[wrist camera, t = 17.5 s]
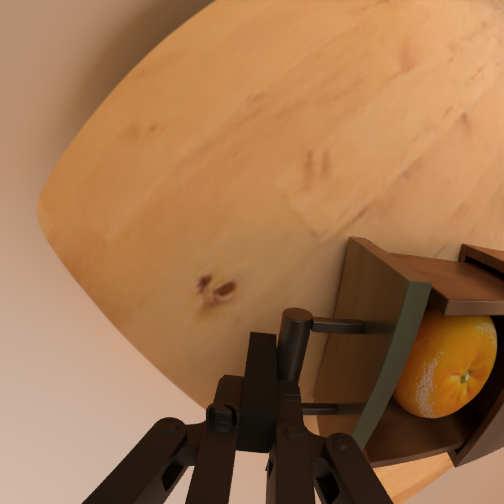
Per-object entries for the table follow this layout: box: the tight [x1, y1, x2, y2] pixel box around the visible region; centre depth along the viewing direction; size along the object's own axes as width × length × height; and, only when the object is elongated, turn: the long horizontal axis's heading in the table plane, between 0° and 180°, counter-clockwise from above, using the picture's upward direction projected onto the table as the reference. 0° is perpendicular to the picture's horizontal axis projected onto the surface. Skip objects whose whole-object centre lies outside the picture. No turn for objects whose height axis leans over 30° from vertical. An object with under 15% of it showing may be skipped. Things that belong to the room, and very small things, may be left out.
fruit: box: [392, 302, 497, 418], centre depth 15 cm, size 8×9×8 cm
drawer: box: [277, 237, 504, 468], centre depth 15 cm, size 19×13×9 cm
